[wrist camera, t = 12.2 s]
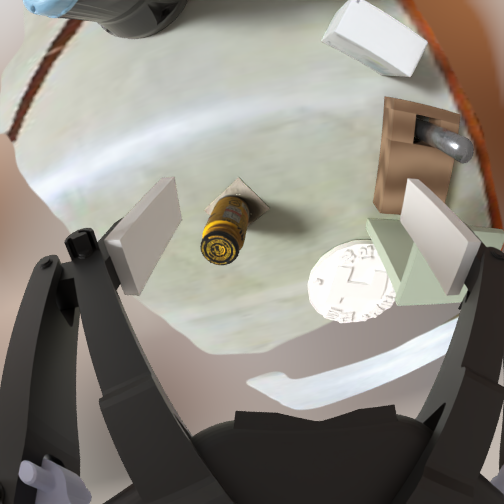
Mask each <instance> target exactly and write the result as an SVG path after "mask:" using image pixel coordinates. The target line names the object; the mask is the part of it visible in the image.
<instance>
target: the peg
mask: <svg viewBox="0 0 504 504" xmlns="http://www.w3.org/2000/svg"><path fill="white" fill-rule="evenodd" d="M414 137H416V138H418V139H420V140H422V141H424V142H426V143H427V144H429V145H431V146H433V147H435V148H437V149H438V150H440V151H442V152H444V153H445V154H447V155H449V156H450V157H452V158H454V159H455V160H457V161H459V162H460V163H467V162H468V161H470V159H471V158H472V156H473V151H474V149H473V145H472V142H471V141H470V140H469V139H467V138H465V137H463V136H461V135H459V134H456V133H454V132H452V131H449V130H447V129H445V128H442V127H440V126H437V125H435V124H432V123H430V122H427V121H424V120H422V119H419V118H416V121H415V131H414Z"/></svg>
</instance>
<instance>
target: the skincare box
mask: <svg viewBox="0 0 504 504" xmlns="http://www.w3.org/2000/svg"><path fill="white" fill-rule="evenodd" d="M321 41H322V42H323V43H325V44H327V45H329V46H331V47H333V48H335V49H337V50H339V51H341V52H343V53H345V54H346V55H348V56H350V57H352V58H354V59H356V60H357V61H359V62H361V63H362V64H364V65H366V66H368V67H369V68H371V69H372V70H374V71H376V72H377V73H379V74H380V75H388V76H404V77H411V76H412V74H413V72H414V70H415V68H416V66H417V64H418V62H419V60H420V58H421V56H422V54H423V52H424V50H425V48H426V46H427V44H428V42H427V41H426V40H425V39H424V38H422V37H421V36H419V35H418V34H417V33H415V32H414V31H413V30H411V29H410V28H408V27H407V26H405V25H404V24H402V23H401V22H399V21H398V20H396V19H395V18H393V17H392V16H390V15H389V14H387V13H385V12H384V11H382V10H381V9H379V8H377V7H376V6H374V5H372V4H370V3H369V2H367V1H365V0H348V1H347V2H346V3H345V4H344V5H343V6H342V7H341V8H340V9H339V10H338V11H337V12H336V13H335V15H334V17H333V19H332V20H331V22H330V24H329V26H328V28H327V30H326V32H325V34H324V36H323V38H322V40H321Z"/></svg>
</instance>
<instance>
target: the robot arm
mask: <svg viewBox="0 0 504 504" xmlns="http://www.w3.org/2000/svg"><path fill="white" fill-rule="evenodd" d="M23 3H24V5H25V7H26V8H27V10H29V11H30V12H31V13H34V14H38V15H45V16H48V17H50V18H67V19H78V20H86V21H94V22H97V23H98V24H100V25H101V26H102V28H103V29H104V30H105V31H107V32H108V33H110V34H112V35H114V36H117V37H121V38H127V39H138V38H143V37H147V36H150V35H153V34H155V33H157V32H159V31H161V30H162V29H164V28H165V27H167V26H168V25H169V24H170V23H172V22H173V21H174V20H175V19H176V18H177V17H178V15H179V14H180V13H181V11H182V10H183V8H184V7H185V5H186V3H187V0H23ZM181 221H182V216H181V211H180V205H179V200H178V194H177V188H176V182H175V177H164V178H161V179H160V180H159V181H158V182H157V183H156V184H155V185H154V186H153V187H152V188H151V189H150V190H149V191H148V192H147V193H146V194H145V195H144V197H143V198H142V199H141V200H140V201H139V202H138V203H137V204H136V205H135V206H134V207H133V208H132V209H131V210H130V211H129V212H128V213H127V215H126V216H125V217H123V218H121V219H120V220H118V221H117V222H115V223H114V224H113V225H112V227H111V228H110V229H109V230H108V231H107V232H106V234H104V236H103V237H102V238H101V239H100V240H99V241H98V242H97V240H96V237H95V234H94V231H93V230H92V229H91V228H83V229H80V230H77V231H75V232H73V233H72V234H71V235H69V236H68V237H67V238H66V240H65V245H66V248H67V250H68V252H69V255H70V257H71V260H72V261H71V262H66V263H62V264H61V262H60V260H59V258H58V256H57V255H49V256H47V257H44V258H43V259H41V260H40V261H39V262H38V263H37V264H36V266H35V267H34V270H33V272H32V275H31V277H30V280H29V282H28V285H27V288H26V290H25V293H24V296H23V299H22V302H21V305H20V308H19V311H18V315H17V318H16V321H15V324H14V328H13V332H12V335H11V339H10V343H9V347H8V351H7V356H6V360H5V365H4V370H3V375H2V381H1V387H0V504H89V503H90V501H91V497H92V496H91V493H90V491H89V490H88V489H87V488H86V486H85V484H84V482H83V481H82V480H81V478H80V455H79V454H80V453H79V440H78V429H77V413H76V412H77V411H76V356H77V341H78V327H79V318H80V314H81V319H82V324H83V328H84V332H85V336H86V340H87V344H88V348H89V352H90V356H91V359H92V363H93V366H94V369H95V372H96V376H97V379H98V382H99V385H100V388H101V391H102V395H103V397H102V398H100V399H99V405H100V409H101V411H102V414H103V417H104V420H105V422H106V425H107V428H108V430H109V433H110V435H111V437H112V440H113V442H114V444H115V447H116V449H117V451H118V454H119V456H120V458H121V460H122V462H123V464H124V466H125V468H126V470H127V472H128V474H129V476H130V478H131V480H132V482H133V484H131V485H130V486H128V487H127V488H126V489H124V490H123V491H121V492H120V493H118V494H117V495H115V496H114V497H112V498H111V499H109V500H108V501H106V502H105V503H103V504H504V407H503V423H502V433H501V443H500V459H499V474H498V475H497V476H495V477H494V478H493V479H492V480H491V482H489V481H488V480H487V479H486V478H485V477H484V476H483V475H481V474H480V471H481V469H482V466H483V464H484V461H485V459H486V456H487V454H488V451H489V448H490V445H491V442H492V439H493V436H494V433H495V430H496V426H497V423H498V420H499V416H500V412H501V408H502V404H503V400H504V387H503V386H501V385H499V384H498V380H499V375H500V370H501V365H502V359H503V367H504V253H503V252H502V251H500V250H499V249H497V248H494V247H486V246H485V244H484V243H483V242H482V241H481V240H480V239H479V238H478V237H477V235H475V233H474V232H473V231H471V229H470V228H469V227H468V226H467V224H465V223H464V222H463V221H462V220H461V219H460V218H459V217H458V216H457V215H456V214H455V213H454V212H453V211H452V210H451V209H450V208H449V207H448V206H447V205H446V204H445V203H444V202H443V201H442V200H441V199H440V198H438V197H437V196H436V195H435V194H434V193H433V192H432V191H431V190H430V189H429V188H428V187H427V186H425V185H424V184H423V183H422V182H421V181H420V180H419V179H410V178H408V179H407V185H406V191H405V196H404V202H403V207H402V212H401V217H400V222H401V224H402V225H403V226H404V228H405V229H406V231H407V232H408V234H409V235H410V237H411V238H412V240H413V241H414V243H415V244H416V246H417V247H418V249H419V250H420V252H421V253H422V255H423V257H424V258H425V260H426V261H427V263H428V265H429V266H430V268H431V270H432V271H433V273H434V275H435V276H436V278H437V280H438V281H439V283H440V285H441V287H442V289H443V290H444V292H445V294H446V296H450V295H459V294H460V292H461V290H462V287H463V285H464V284H465V285H466V287H467V289H468V290H467V292H466V294H465V296H464V298H463V300H462V302H461V304H460V306H459V308H458V309H459V310H460V309H461V311H460V315H459V318H458V321H457V324H456V328H455V331H454V334H453V337H452V339H451V342H450V345H449V348H448V351H447V353H446V356H445V358H444V361H443V364H442V366H441V368H440V371H439V373H438V376H437V378H436V380H435V383H434V385H433V387H432V389H431V391H430V393H429V395H428V398H427V400H426V402H425V404H424V406H423V408H422V410H421V412H420V413H419V415H418V416H417V418H416V419H413V418H410V417H407V416H402V415H398V414H396V410H395V405H388V406H381V407H373V408H365V409H358V410H355V411H352V412H349V413H346V414H343V415H340V416H337V417H334V418H331V419H327V420H324V421H312V420H307V419H302V418H297V417H293V416H288V415H284V414H280V413H269V412H268V413H267V412H246V411H236V412H235V420H234V421H228V422H224V423H219V424H216V425H214V426H211V427H209V428H207V429H205V430H203V431H201V432H199V433H197V434H196V435H194V436H192V435H191V433H190V432H189V430H188V429H187V427H186V426H185V424H184V423H183V421H182V420H181V418H180V417H179V415H178V413H177V412H176V410H175V409H174V407H173V405H172V403H171V402H170V400H169V398H168V396H167V395H166V393H165V391H164V389H163V388H162V386H161V384H160V382H159V380H158V378H157V377H156V375H155V373H154V371H153V369H152V367H151V365H150V363H149V361H148V359H147V357H146V355H145V354H144V352H143V349H142V347H141V345H140V343H139V341H138V339H137V337H136V334H135V332H134V330H133V328H132V326H131V324H130V321H129V319H128V317H127V314H126V312H125V310H124V307H123V305H122V302H121V300H120V298H119V295H118V293H117V291H116V290H117V288H118V287H119V285H120V284H121V287H122V289H123V291H124V294H125V295H137V296H140V294H141V292H142V290H143V289H144V287H145V285H146V283H147V281H148V279H149V277H150V275H151V274H152V272H153V270H154V268H155V266H156V264H157V263H158V261H159V259H160V257H161V255H162V254H163V252H164V250H165V248H166V247H167V245H168V243H169V241H170V240H171V238H172V236H173V234H174V233H175V231H176V229H177V228H178V226H179V224H180V223H181Z"/></svg>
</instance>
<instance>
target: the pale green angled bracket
mask: <svg viewBox="0 0 504 504" xmlns="http://www.w3.org/2000/svg"><path fill="white" fill-rule="evenodd" d="M468 227H469V228H470V229H471V231H473V232H474V233H475V235H477V237H478V238H479V239H480V240H481V241H482V242H483V243H484V244H485V246H486V247H494V248H497V249H499V250H501V248H502V245H503V243H504V231H503V230H502V229H495V228H486V227H477V226H468ZM366 230H367V232H368V234H369V236H370V238H371V240H372V242H373V244H374V246H375V248H376V250H377V252H378V255H379V257H380V259H381V261H382V263H383V265H384V268H385V270H386V272H387V274H388V277H389V279H390V281H391V283H392V286H393V288H394V291H395V293H396V297H395V301H396V304H397V306H404V305H426V304H443V303H458V302H462V300H463V298H464V296H465V294H466V292H467V290H468V289H467V287H466V285H465V284H464V285H463V287H462V290H461V292H460V294H459V295H450V296H446V294H445V292H444V290H443V289H442V287H441V285H440V283H439V281H438V280H437V278H436V276H435V275H434V273H433V271H432V270H431V268H430V266H429V265H428V263H427V261H426V260H425V258H424V257H423V255H422V253H421V252H420V250H419V249H418V247H417V246H416V244H415V243H414V241H413V240H412V238H411V237H410V235H409V234H408V232H407V231H406V229H405V228H404V226H403V225H402V224H401V222H400V220H389V219H372V218H368V219H367V224H366Z"/></svg>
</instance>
